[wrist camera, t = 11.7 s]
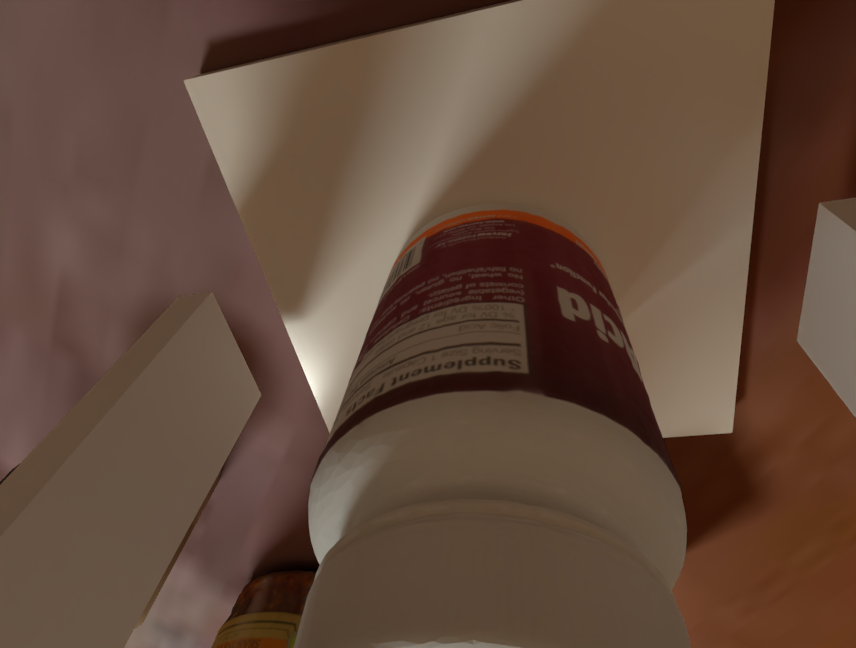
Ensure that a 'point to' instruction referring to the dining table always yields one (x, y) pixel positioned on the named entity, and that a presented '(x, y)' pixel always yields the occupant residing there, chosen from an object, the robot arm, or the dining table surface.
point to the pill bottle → (496, 457)
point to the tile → (513, 169)
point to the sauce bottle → (267, 612)
